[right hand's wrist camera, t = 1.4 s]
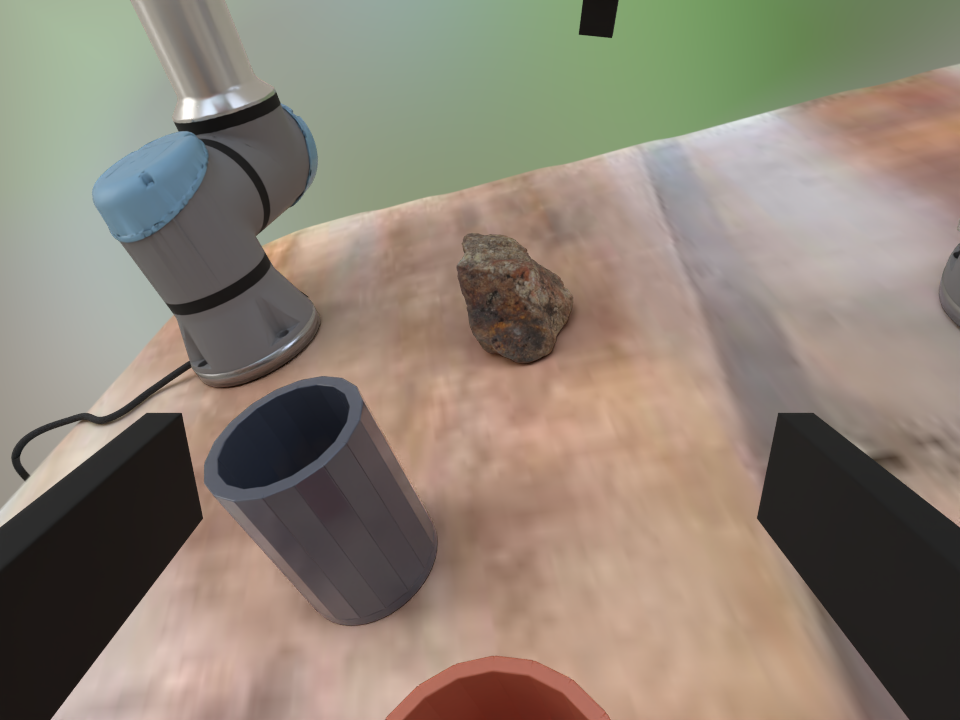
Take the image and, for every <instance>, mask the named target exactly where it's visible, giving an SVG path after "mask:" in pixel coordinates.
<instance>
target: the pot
mask: <svg viewBox="0 0 960 720" xmlns="http://www.w3.org/2000/svg"><path fill="white" fill-rule="evenodd" d="M385 720H610V718H609V716H608V715H607V714H606V712H605V711H604V710H603V709H602V708H601V707H600V706H599V705H598V704H597V703H596V702H595V701H594V700H593V699H592V698H591V697H590V696H589V695H588V694H587V693H586V692H585V691H584V690H583V689H582V688H581V687H580V686H579V685H578V684H577V683H576V682H575V681H574V680H572V679H571V678H569V677H567V676H565V675H563V674H561V673H559V672H557V671H555V670H553V669H551V668H549V667H547V666H544V665H542V664H540V663H538V662H536V661H533V660H527V659H518V658H510V657H502V656H490V657H485V658H481V659H476V660H471V661H467V662H462V663H458V664H456V665H453V666H451V667H449V668H448V669H446V670H444V671H442V672H441V673H439V674H437V675H435V676H434V677H432V678H430V679H428V680H427V681H425V682H423V683H421V684H420V685H419V686H417V687H416V688H415V689H414V690H413V691H412V692H411V693H410V694H409V695H408V696H407V697H406V698H405V699H404V700H403V701H402V702H401V703H400V704H399V705H398V706H397V707H396V708H395V709H394V710H393V711H392V712H391V713H390V714H389V715H388V716H387V717H386V719H385Z"/></svg>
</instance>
